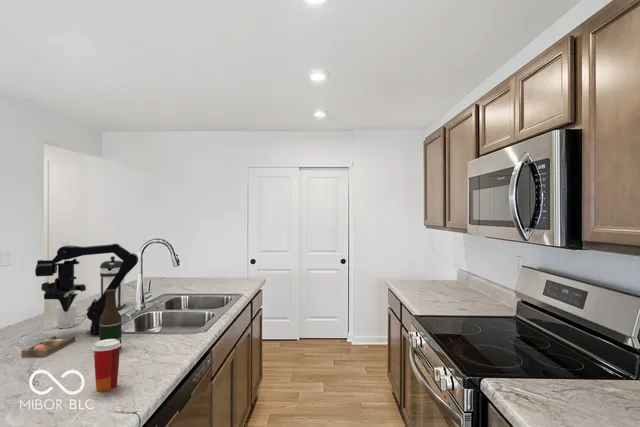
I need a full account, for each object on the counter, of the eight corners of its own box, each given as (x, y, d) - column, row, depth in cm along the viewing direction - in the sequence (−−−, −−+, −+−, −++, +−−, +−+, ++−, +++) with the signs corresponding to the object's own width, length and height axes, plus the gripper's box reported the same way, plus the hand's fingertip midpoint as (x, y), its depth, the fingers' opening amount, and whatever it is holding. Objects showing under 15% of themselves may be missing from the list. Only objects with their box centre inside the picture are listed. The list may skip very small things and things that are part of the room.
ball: (39, 343, 140) (40, 354, 139) (47, 342, 144) (49, 353, 143) (29, 347, 140) (30, 357, 139) (37, 345, 144) (39, 356, 143)
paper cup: (114, 379, 121) (115, 336, 121) (125, 386, 116) (125, 341, 116) (87, 388, 115) (88, 342, 115) (97, 396, 110) (97, 348, 110)
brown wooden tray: (75, 343, 154) (75, 335, 154) (45, 359, 137) (45, 350, 137) (54, 343, 154) (54, 335, 154) (21, 360, 137) (21, 350, 137)
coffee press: (134, 307, 215) (134, 255, 215) (106, 313, 202) (106, 258, 202) (117, 303, 224) (117, 253, 225) (89, 309, 211) (90, 256, 211)
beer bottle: (96, 355, 142) (96, 292, 142) (102, 348, 150) (102, 288, 150) (118, 353, 144) (119, 291, 144) (123, 346, 152) (124, 287, 152)
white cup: (59, 330, 172) (60, 308, 173) (53, 327, 177) (53, 306, 177) (78, 326, 179) (79, 305, 179) (72, 323, 184) (72, 303, 184)
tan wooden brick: (63, 346, 148) (63, 338, 148) (59, 348, 146) (59, 340, 146) (46, 346, 148) (46, 339, 148) (42, 348, 145) (42, 341, 145)
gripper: (61, 271, 169) (61, 306, 169) (30, 278, 150) (30, 317, 150) (86, 271, 169) (86, 306, 169) (58, 278, 150) (58, 317, 150)
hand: (65, 311), depth 159 cm, fingers closed
